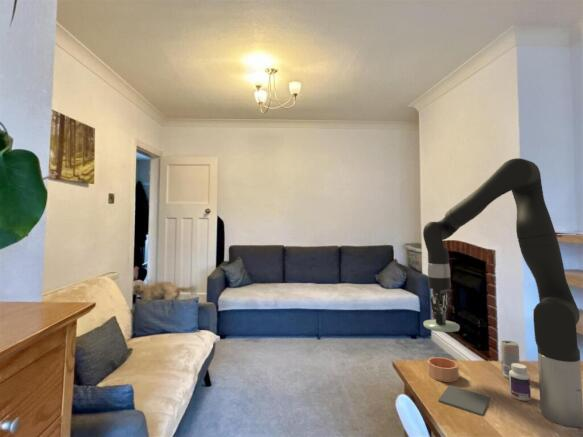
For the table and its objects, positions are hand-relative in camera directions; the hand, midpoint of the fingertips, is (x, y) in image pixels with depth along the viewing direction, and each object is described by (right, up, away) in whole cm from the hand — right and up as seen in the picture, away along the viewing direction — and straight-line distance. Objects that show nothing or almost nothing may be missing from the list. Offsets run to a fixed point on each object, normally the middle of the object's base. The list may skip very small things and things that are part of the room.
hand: (441, 322), depth 116 cm
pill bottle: (+18, -19, -16) cm, 30 cm away
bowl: (0, -19, -1) cm, 19 cm away
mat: (-1, -19, -17) cm, 25 cm away
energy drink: (+24, -19, -3) cm, 31 cm away
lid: (0, -2, 0) cm, 2 cm away
